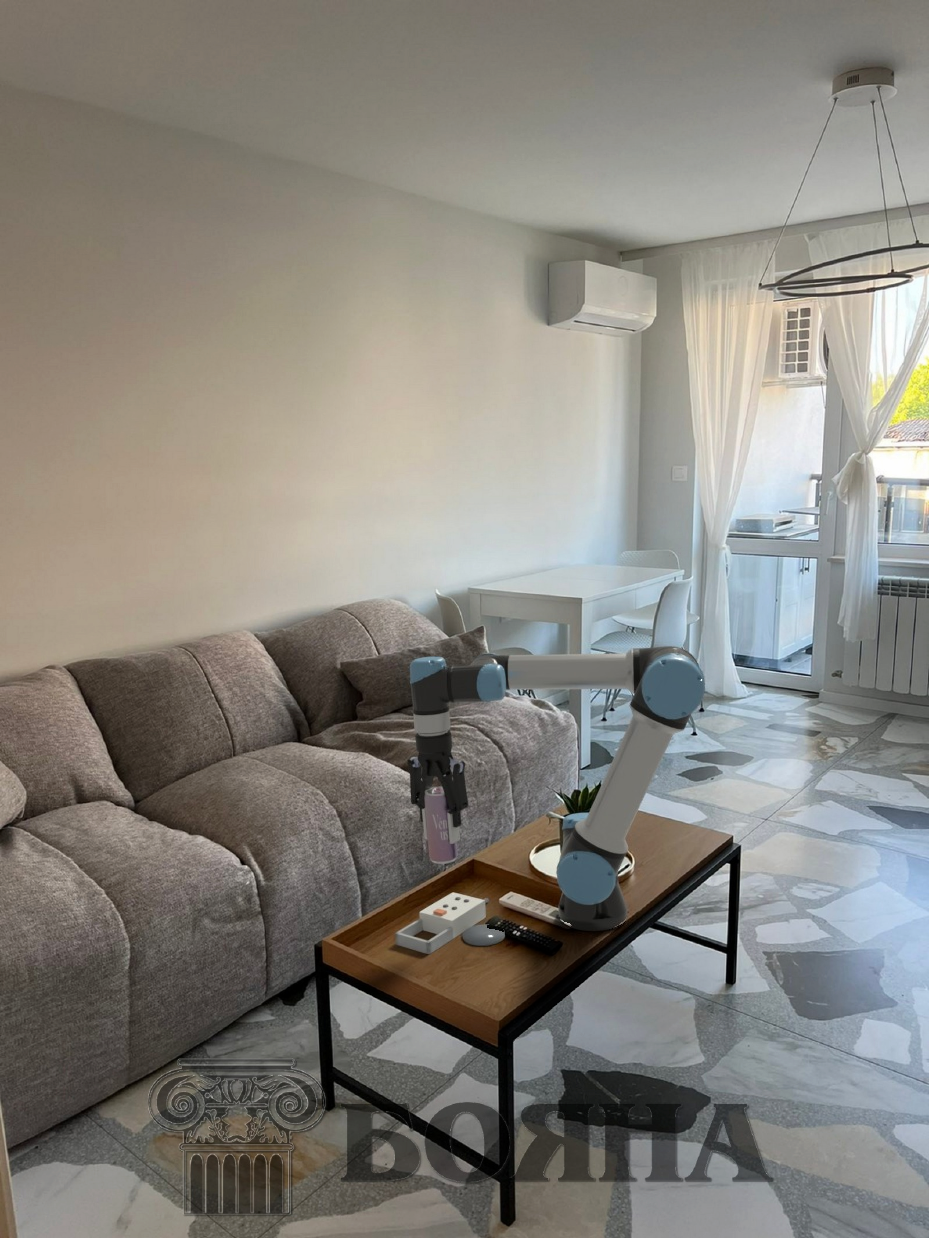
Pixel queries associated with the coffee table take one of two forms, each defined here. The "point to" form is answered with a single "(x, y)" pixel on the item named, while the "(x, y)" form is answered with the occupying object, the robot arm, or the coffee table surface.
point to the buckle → (442, 922)
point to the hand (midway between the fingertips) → (442, 839)
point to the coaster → (482, 935)
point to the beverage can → (438, 827)
